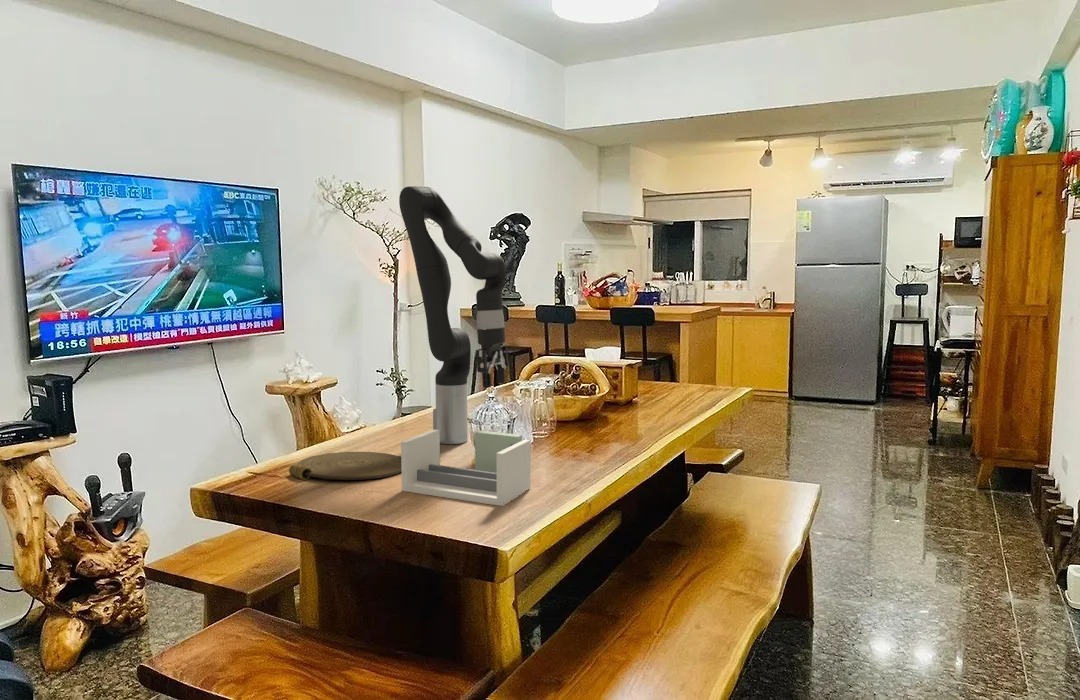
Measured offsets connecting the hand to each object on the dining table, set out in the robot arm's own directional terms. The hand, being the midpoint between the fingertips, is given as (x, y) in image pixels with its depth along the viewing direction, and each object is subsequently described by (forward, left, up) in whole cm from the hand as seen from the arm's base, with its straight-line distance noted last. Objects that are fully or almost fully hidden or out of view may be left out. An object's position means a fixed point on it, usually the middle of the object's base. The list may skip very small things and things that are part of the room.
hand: (494, 385), depth 206 cm
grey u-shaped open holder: (+11, -35, -19) cm, 41 cm away
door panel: (+11, -19, -19) cm, 29 cm away
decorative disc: (-25, -31, -19) cm, 44 cm away
